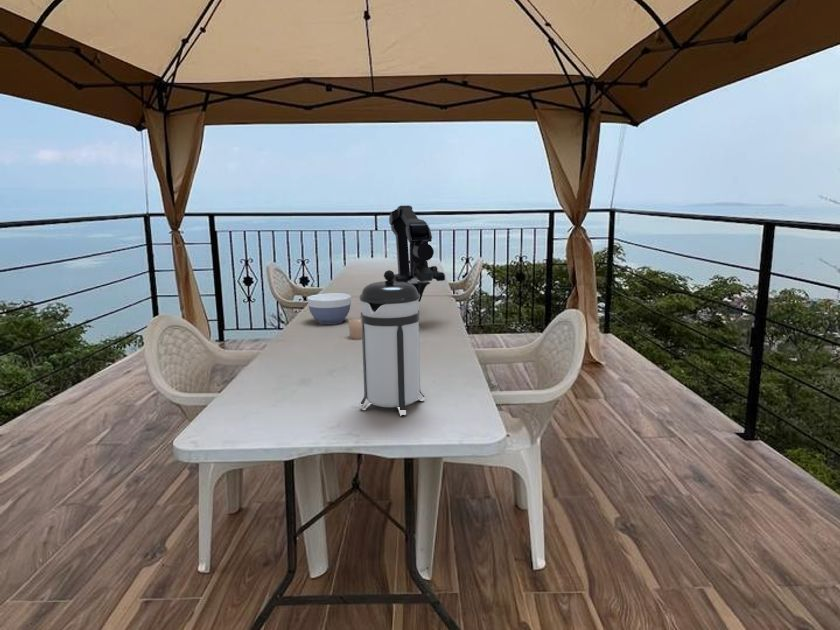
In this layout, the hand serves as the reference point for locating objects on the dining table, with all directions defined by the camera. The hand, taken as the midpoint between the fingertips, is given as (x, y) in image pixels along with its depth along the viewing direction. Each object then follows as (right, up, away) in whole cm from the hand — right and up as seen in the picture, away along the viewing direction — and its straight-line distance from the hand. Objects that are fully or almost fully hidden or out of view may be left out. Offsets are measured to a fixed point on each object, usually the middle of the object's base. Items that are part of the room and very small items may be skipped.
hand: (418, 301), depth 203 cm
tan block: (-20, -12, -15) cm, 28 cm away
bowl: (-33, -8, +9) cm, 35 cm away
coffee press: (-5, -25, -76) cm, 80 cm away
